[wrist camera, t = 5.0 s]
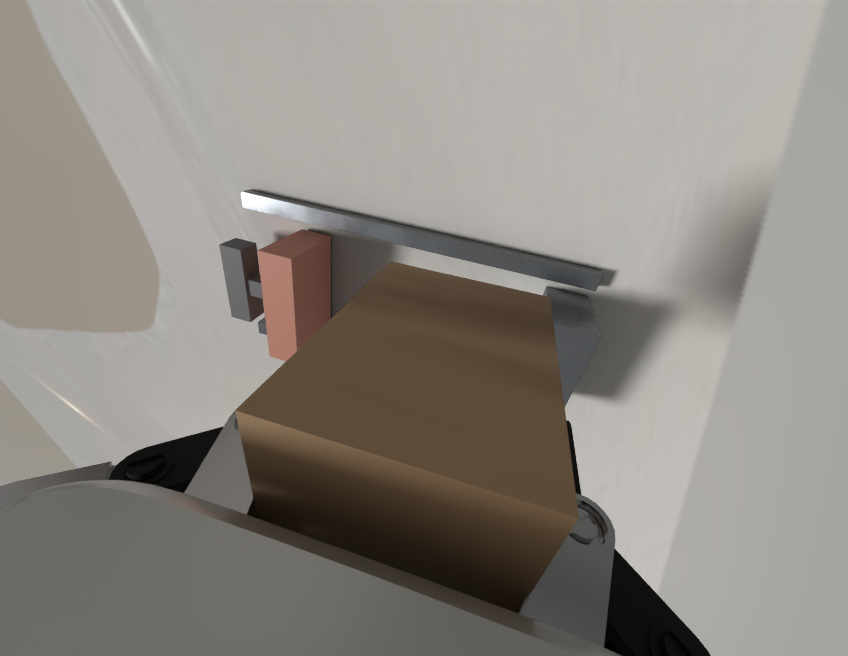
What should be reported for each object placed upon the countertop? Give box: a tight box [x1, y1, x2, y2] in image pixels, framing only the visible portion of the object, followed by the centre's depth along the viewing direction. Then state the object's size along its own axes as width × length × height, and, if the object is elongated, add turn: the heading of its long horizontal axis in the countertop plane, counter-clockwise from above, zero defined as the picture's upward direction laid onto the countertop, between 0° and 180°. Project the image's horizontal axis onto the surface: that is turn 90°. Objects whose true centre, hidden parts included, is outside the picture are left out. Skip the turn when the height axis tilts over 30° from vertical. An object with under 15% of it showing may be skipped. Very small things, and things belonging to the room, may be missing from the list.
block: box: [235, 262, 579, 612], centre depth 10 cm, size 7×5×7 cm
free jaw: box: [219, 229, 331, 361], centre depth 28 cm, size 9×7×6 cm
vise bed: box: [241, 190, 603, 408], centre depth 27 cm, size 13×27×6 cm, turn 82°
